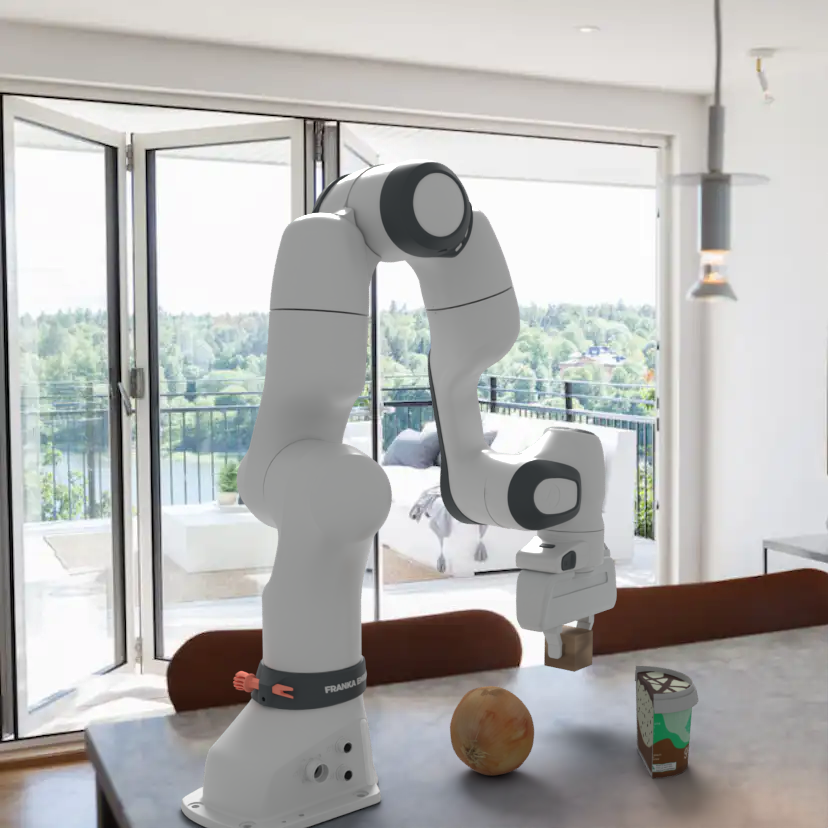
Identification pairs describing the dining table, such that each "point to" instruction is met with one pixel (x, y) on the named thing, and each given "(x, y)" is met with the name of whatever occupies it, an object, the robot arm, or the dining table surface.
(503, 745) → the onion
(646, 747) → the food container
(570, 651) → the walnut block
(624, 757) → the dining table surface
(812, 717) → the dining table surface
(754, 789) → the dining table surface
